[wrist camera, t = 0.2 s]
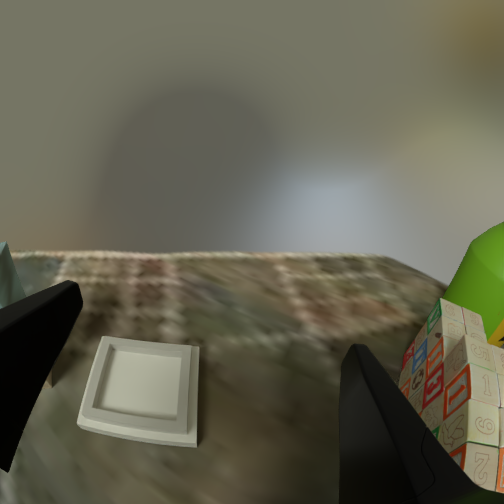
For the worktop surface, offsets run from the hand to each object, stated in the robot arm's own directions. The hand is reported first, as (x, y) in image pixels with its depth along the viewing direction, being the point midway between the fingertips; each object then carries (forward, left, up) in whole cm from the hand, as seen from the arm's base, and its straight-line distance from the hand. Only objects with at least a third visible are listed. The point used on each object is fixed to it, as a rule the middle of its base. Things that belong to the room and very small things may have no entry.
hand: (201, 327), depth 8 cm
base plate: (+5, +7, -17) cm, 19 cm away
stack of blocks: (+5, -19, -17) cm, 26 cm away
